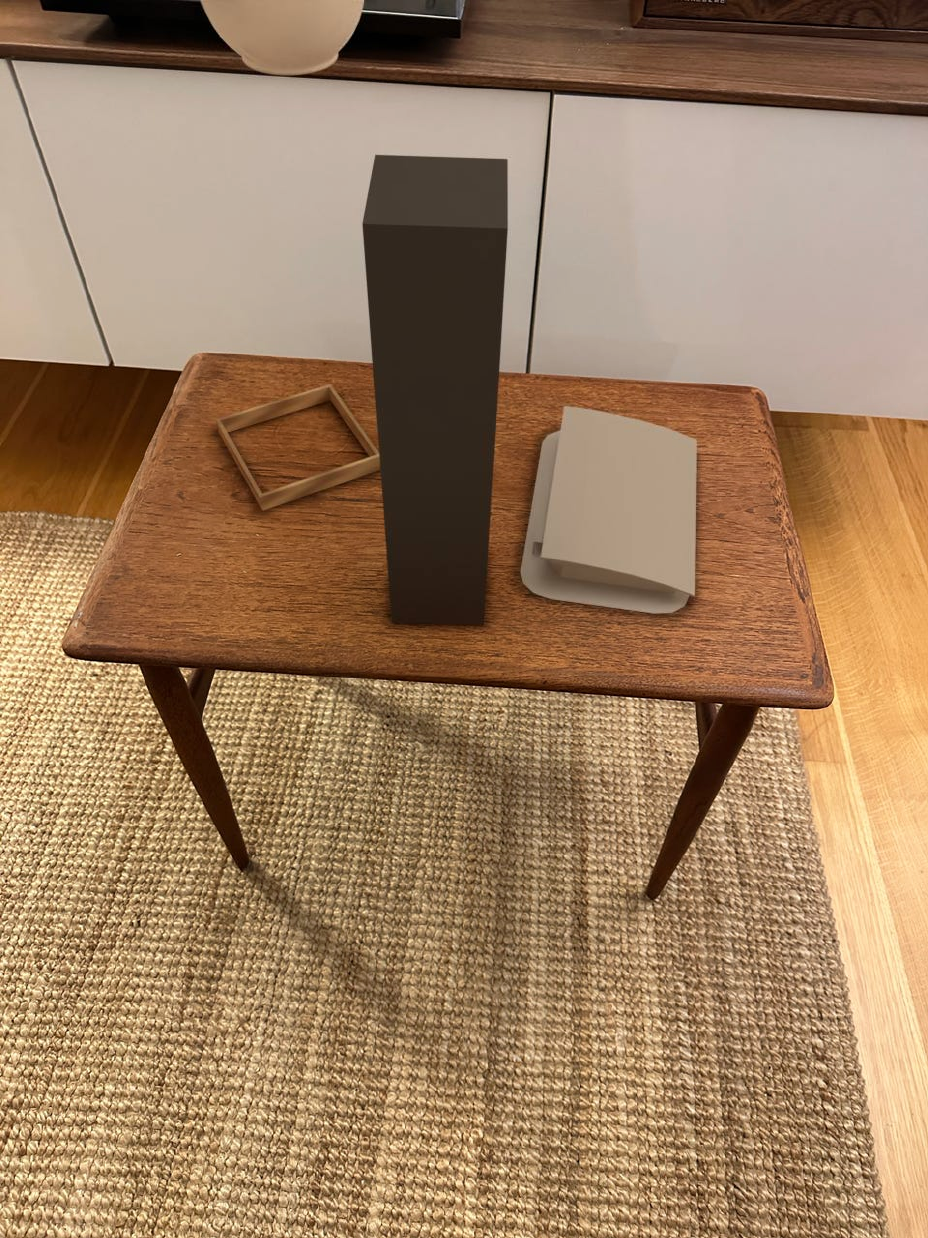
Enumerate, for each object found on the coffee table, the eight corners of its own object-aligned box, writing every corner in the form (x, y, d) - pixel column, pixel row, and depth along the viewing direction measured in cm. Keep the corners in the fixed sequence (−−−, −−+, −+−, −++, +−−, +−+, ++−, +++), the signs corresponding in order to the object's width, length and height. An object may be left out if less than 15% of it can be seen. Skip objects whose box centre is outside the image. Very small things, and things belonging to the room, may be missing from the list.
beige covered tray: (516, 594, 80) (519, 565, 77) (545, 426, 94) (548, 396, 91) (690, 618, 79) (700, 590, 76) (693, 445, 93) (701, 414, 90)
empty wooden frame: (262, 510, 86) (259, 497, 84) (219, 432, 93) (215, 419, 91) (382, 469, 90) (381, 455, 88) (332, 397, 96) (330, 383, 95)
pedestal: (391, 622, 78) (362, 223, 49) (398, 554, 83) (375, 154, 54) (484, 626, 78) (507, 227, 49) (485, 556, 83) (507, 158, 54)
